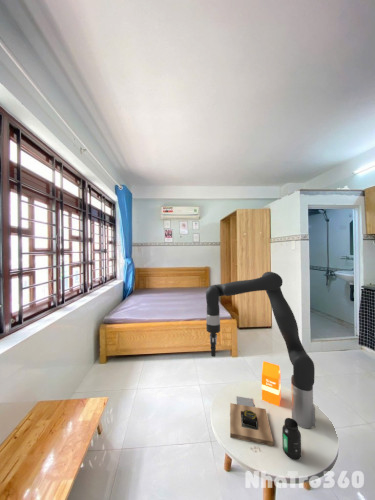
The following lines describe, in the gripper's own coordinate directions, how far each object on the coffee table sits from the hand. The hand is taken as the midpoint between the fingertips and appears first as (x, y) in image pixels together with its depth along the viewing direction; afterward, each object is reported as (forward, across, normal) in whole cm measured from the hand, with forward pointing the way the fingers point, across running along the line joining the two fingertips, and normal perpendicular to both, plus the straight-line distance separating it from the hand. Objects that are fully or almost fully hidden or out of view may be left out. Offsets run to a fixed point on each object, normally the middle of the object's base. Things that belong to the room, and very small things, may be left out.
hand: (213, 352), depth 104 cm
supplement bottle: (+29, -20, -32) cm, 48 cm away
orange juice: (+29, +10, -32) cm, 45 cm away
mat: (+29, +4, -17) cm, 34 cm away
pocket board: (+29, -8, -17) cm, 35 cm away
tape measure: (+29, -8, -18) cm, 35 cm away
